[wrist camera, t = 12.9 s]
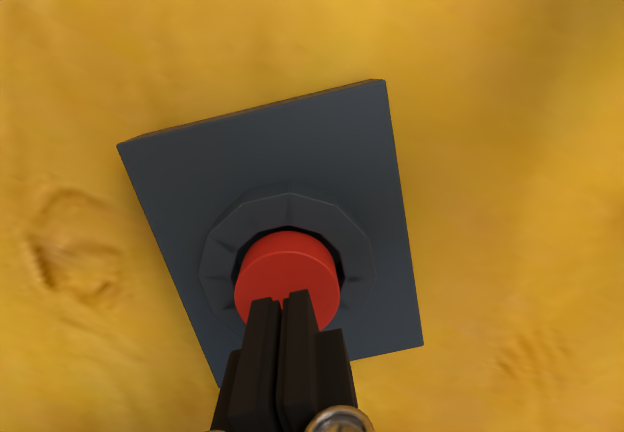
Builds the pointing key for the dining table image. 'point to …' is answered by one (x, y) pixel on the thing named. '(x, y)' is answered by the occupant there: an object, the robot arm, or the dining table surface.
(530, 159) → the dining table surface
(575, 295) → the dining table surface
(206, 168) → the dark grey flat block
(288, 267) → the timer button
